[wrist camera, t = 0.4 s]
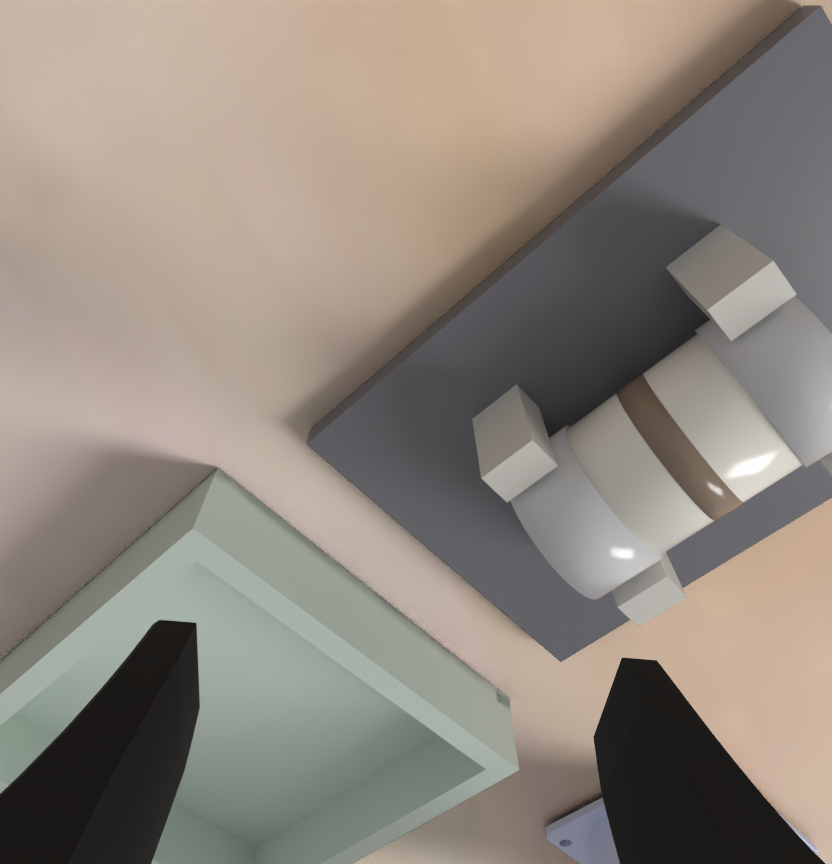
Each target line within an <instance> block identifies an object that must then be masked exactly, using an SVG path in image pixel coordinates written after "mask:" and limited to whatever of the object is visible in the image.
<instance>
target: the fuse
mask: <svg viewBox="0 0 832 864" xmlns="http://www.w3.org/2000/svg"><path fill="white" fill-rule="evenodd" d="M695 332H696V335H695V336H693V337H692V338H691V339H689V340H688V341H687V342H685V343H684V344H683V345H681V346H680V347H678V348H677V349H676V350H674V351H673V352H672V353H670V354H669V355H668V356H666V357H665V358H663V359H662V360H661V361H659V362H658V363H657V364H655V365H654V366H653V367H651V368H650V369H649V370H647V371H646V372H644V373H642V374H640V375H639V376H638V377H636V378H635V379H634V380H632V381H631V382H630V383H628V384H627V385H625V386H624V387H623V388H621V389H620V390H619V391H617V393H616V394H615V395H613V396H612V397H610V398H609V399H608V400H606V401H605V402H604V403H602V404H601V405H600V406H598V407H597V408H596V409H594V410H593V411H591V412H590V413H589V414H587V415H586V416H585V417H583V418H582V419H581V420H579V421H578V422H577V423H575V424H574V425H572V426H565V427H563V428H562V429H561V430H559V431H558V432H557V433H555V434H554V435H553V436H551V437H550V438H549V440H550V443H551V446H552V449H553V452H554V455H555V458H556V461H557V464H558V466H557V467H556V468H554V469H553V470H552V471H550V472H549V473H547V474H546V475H545V476H543V477H542V478H541V479H539V480H538V481H536V482H535V483H534V484H532V485H531V486H529V487H528V488H527V489H525V490H524V491H522V492H521V493H520V494H518V495H517V496H516V497H514V498H513V499H511V500H510V502H511V504H512V506H513V508H514V510H515V512H516V514H517V516H518V518H519V520H520V522H521V523H522V525H523V527H524V529H525V530H526V532H527V533H528V535H529V537H530V538H531V540H532V541H533V542H534V544H535V545H536V547H537V548H538V550H539V551H540V552H541V554H542V555H543V556H544V557H545V559H546V560H547V561H548V562H549V564H550V565H551V566H552V567H553V568H554V569H555V571H556V572H557V573H558V574H559V575H560V576H561V577H562V578H563V579H564V580H565V581H566V582H567V583H568V584H569V585H570V586H571V587H573V588H574V589H575V590H576V591H578V592H579V593H580V594H582V595H584V596H585V597H587V598H590V599H594V600H596V599H599V598H601V597H602V596H604V595H605V594H607V593H609V592H610V591H612V590H613V589H615V588H616V587H618V586H620V585H621V584H623V583H624V582H626V581H628V580H629V579H631V578H632V577H634V576H636V575H637V574H639V573H640V572H642V571H644V570H645V569H647V568H648V567H650V566H651V565H653V564H655V563H656V562H658V561H659V560H661V559H663V558H664V555H665V554H664V552H666V551H667V550H669V549H671V548H672V547H674V546H675V545H677V544H679V543H680V542H682V541H683V540H685V539H686V538H688V537H690V536H691V535H693V534H694V533H696V532H698V531H699V530H701V529H702V528H704V527H705V526H707V525H709V524H710V523H712V522H713V521H717V520H718V519H720V518H721V517H723V516H724V515H726V514H728V513H729V512H731V511H732V510H734V509H736V508H737V507H739V506H740V505H742V504H743V503H744V502H745V501H747V500H748V499H750V498H751V497H753V496H755V495H756V494H758V493H759V492H761V491H762V490H764V489H766V488H767V487H769V486H770V485H772V484H773V483H775V482H777V481H778V480H780V479H781V478H783V477H785V476H786V475H788V474H789V473H791V472H792V471H794V470H796V469H797V468H799V467H800V466H802V465H804V466H805V467H806V468H807V467H809V466H810V465H812V464H814V463H815V462H817V461H818V460H820V459H821V458H823V457H825V456H826V455H828V454H829V453H831V452H832V334H831V333H830V331H829V330H828V329H827V328H826V327H825V326H824V325H823V324H822V323H821V321H820V320H819V319H818V318H817V317H816V316H815V315H814V314H813V313H812V312H811V311H810V310H809V309H808V308H807V307H806V306H805V305H804V304H803V303H802V302H801V301H800V300H799V299H798V298H797V297H796V296H794V297H792V298H791V299H789V300H788V301H787V302H785V303H784V304H782V305H781V306H780V307H778V308H777V309H776V310H774V311H773V312H771V313H770V314H769V315H767V316H766V317H764V318H763V319H762V320H760V321H759V322H757V323H756V324H755V325H753V326H752V327H751V328H749V329H748V330H746V331H745V332H744V333H742V334H741V335H739V336H738V337H737V338H735V339H734V340H732V341H730V340H729V339H728V338H727V337H726V335H725V334H724V333H723V332H722V331H721V330H720V329H719V328H718V327H717V326H716V325H715V324H714V323H713V322H712V321H711V320H708V321H707V322H705V323H704V324H703V325H701V326H700V327H699V328H697V329H696V330H695Z"/></svg>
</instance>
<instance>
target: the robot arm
mask: <svg viewBox="0 0 832 864" xmlns="http://www.w3.org/2000/svg"><path fill="white" fill-rule="evenodd" d="M199 709H200V698H199V673H198V648H197V623H193V622H181V621H169V620H158V621H157V622H155V623H154V624H153V625H152V626H151V627H150V629H149V630H148V631H147V632H146V634H145V635H144V636H143V638H142V639H141V640H140V642H139V643H138V644H137V645H136V647H135V648H134V649H133V651H132V652H131V653H130V654H129V656H128V657H127V658H126V659H125V661H124V662H123V663H122V664H121V665H120V667H119V668H118V669H117V670H116V671H115V673H114V674H113V675H112V676H111V677H110V679H109V680H108V681H107V682H106V683H105V685H104V686H103V687H102V688H101V689H100V690H99V691H98V693H97V694H96V695H95V696H94V697H93V698H92V699H91V700H90V702H89V703H88V704H87V705H86V706H85V707H84V708H83V709H82V710H81V712H80V713H79V714H78V715H77V716H76V717H75V718H74V719H73V721H72V722H71V723H70V724H69V725H68V726H67V727H66V728H65V729H64V730H63V731H62V732H61V734H60V735H59V736H58V737H57V738H56V739H55V740H54V741H53V742H52V743H51V744H50V745H49V746H48V747H47V748H46V749H45V750H44V751H43V752H42V753H41V754H40V755H39V756H38V757H37V758H36V759H35V760H34V761H33V762H32V763H31V764H30V765H29V766H28V767H27V768H26V769H25V770H24V771H23V772H22V773H21V774H20V775H19V776H18V777H17V778H16V779H15V780H14V781H13V782H12V783H11V784H10V785H9V786H8V787H7V788H6V789H5V790H4V791H2V792H1V793H0V864H151V863H152V860H153V857H154V855H155V852H156V849H157V846H158V844H159V841H160V838H161V835H162V832H163V830H164V827H165V824H166V821H167V819H168V816H169V813H170V810H171V807H172V804H173V802H174V799H175V796H176V793H177V790H178V788H179V785H180V782H181V779H182V776H183V773H184V770H185V767H186V763H187V759H188V755H189V751H190V747H191V743H192V739H193V735H194V730H195V726H196V722H197V718H198V713H199ZM594 743H595V750H596V758H597V765H598V772H599V778H600V785H601V791H602V798H600V799H598V800H596V801H594V802H592V803H590V804H589V805H587V806H585V807H583V808H581V809H579V810H577V811H575V812H573V813H571V814H569V815H567V816H565V817H563V818H562V819H560V820H558V821H556V822H554V823H552V824H550V825H549V826H547V828H546V829H545V832H546V838H547V840H548V841H549V842H550V843H551V844H553V845H554V846H556V847H557V848H558V849H560V850H561V851H563V852H564V853H566V854H567V855H568V856H570V857H571V858H573V859H574V860H576V861H577V862H578V863H580V864H825V863H824V862H823V861H822V860H821V859H820V858H819V857H818V854H819V853H818V851H817V849H816V847H815V845H814V844H813V843H812V842H811V841H810V840H809V839H808V838H807V837H805V836H804V835H803V834H802V833H801V832H800V831H799V830H798V829H796V828H795V827H794V826H793V825H792V824H791V823H790V822H789V821H788V820H786V819H785V818H784V817H783V816H782V815H781V814H780V813H779V812H777V811H776V810H775V809H774V808H773V807H772V805H771V804H770V803H769V802H768V801H767V800H766V799H765V798H764V796H763V795H762V794H761V793H760V792H759V790H758V789H757V788H756V787H755V786H754V785H753V783H752V782H751V781H750V780H749V778H748V777H747V776H746V775H745V773H744V772H743V771H742V770H741V769H740V767H739V766H738V765H737V764H736V762H735V761H734V760H733V759H732V757H731V756H730V755H729V754H728V753H727V751H726V750H725V749H724V748H723V746H722V745H721V744H720V742H719V741H718V740H717V739H716V737H715V736H714V735H713V734H712V732H711V731H710V730H709V728H708V727H707V726H706V724H705V723H704V722H703V721H702V719H701V718H700V717H699V715H698V714H697V713H696V711H695V710H694V709H693V707H692V706H691V705H690V704H689V702H688V701H687V700H686V698H685V697H684V696H683V694H682V693H681V692H680V690H679V689H678V688H677V686H676V685H675V684H674V682H673V681H672V680H671V678H670V677H669V676H668V675H667V673H666V672H665V671H664V669H663V668H662V667H661V665H660V664H659V663H658V662H657V661H656V660H643V659H631V658H622V659H621V662H620V665H619V668H618V670H617V673H616V676H615V679H614V682H613V684H612V687H611V690H610V693H609V696H608V698H607V701H606V704H605V707H604V710H603V712H602V715H601V718H600V721H599V724H598V726H597V729H596V732H595V735H594Z"/></svg>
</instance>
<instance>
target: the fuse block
mask: <svg viewBox="0 0 832 864" xmlns="http://www.w3.org/2000/svg"><path fill="white" fill-rule="evenodd" d="M794 296H796V297H797V298H798V299H799V300H800V301H801V302H802V303H803V304H804V305H805V306H806V307H807V308H808V309H809V310H810V311H811V312H812V313H813V314H814V315H815V316H816V317H817V318H818V319H819V320H820V321H821V323H822V324H823V325H824V326H825V327H826V328H827V329H828V330H829V331H830V333H831V334H832V25H831V23H830V21H829V19H828V18H827V16H826V14H825V12H824V10H823V9H822V7H821V6H803V7H801V8H800V9H799V10H798V11H797V12H796V13H794V14H793V15H792V16H791V17H790V18H789V19H787V20H786V21H785V22H784V23H783V24H782V25H781V26H779V27H778V28H777V29H776V30H775V31H774V32H772V33H771V34H770V35H769V36H768V37H767V38H765V39H764V40H763V41H762V42H761V43H760V44H758V45H757V46H756V47H755V48H754V49H753V50H751V51H750V52H749V53H748V54H747V55H746V56H744V57H743V58H742V59H741V60H740V61H739V62H737V63H736V64H735V65H734V66H733V67H732V68H731V69H729V70H728V71H727V72H726V73H725V74H724V75H722V76H721V77H720V78H719V79H718V80H717V81H715V82H714V83H713V84H712V85H711V86H710V87H708V88H707V89H706V90H705V91H704V92H703V93H701V94H700V95H699V96H698V97H697V98H696V99H694V100H693V101H692V102H691V103H690V104H689V105H688V106H686V107H685V108H684V109H683V110H682V111H681V112H679V113H678V114H677V115H676V116H675V117H674V118H672V119H671V120H670V121H669V122H668V123H667V124H665V125H664V126H663V127H662V128H661V129H660V130H658V131H657V132H656V133H655V134H654V135H653V136H651V137H650V138H649V139H648V140H647V141H646V142H644V143H643V144H642V145H641V146H640V147H639V148H638V149H636V150H635V151H634V152H633V153H632V154H631V155H629V156H628V157H627V158H626V159H625V160H624V161H622V162H621V163H620V164H619V165H618V166H617V167H615V168H614V169H613V170H612V171H611V172H610V173H608V174H607V175H606V176H605V177H604V178H603V179H601V180H600V181H599V182H598V183H597V184H596V185H595V186H593V187H592V188H591V189H590V190H589V191H588V192H586V193H585V194H584V195H583V196H582V197H581V198H579V199H578V200H577V201H576V202H575V203H574V204H572V205H571V206H570V207H569V208H568V209H567V210H565V211H564V212H563V213H562V214H561V215H560V216H558V217H557V218H556V219H555V220H554V221H553V222H551V223H550V224H549V225H548V226H547V227H546V228H545V229H543V230H542V231H541V232H540V233H539V234H538V235H536V236H535V237H534V238H533V239H532V240H531V241H529V242H528V243H527V244H526V245H525V246H524V247H522V248H521V249H520V250H519V251H518V252H517V253H515V254H514V255H513V256H512V257H511V258H510V259H508V260H507V261H506V262H505V263H504V264H503V265H501V266H500V267H499V268H498V269H497V270H496V271H495V272H493V273H492V274H491V275H490V276H489V277H488V278H486V279H485V280H484V281H483V282H482V283H481V284H479V285H478V286H477V287H476V288H475V289H474V290H472V291H471V292H470V293H469V294H468V295H467V296H465V297H464V298H463V299H462V300H461V301H460V302H458V303H457V304H456V305H455V306H454V307H453V308H452V309H450V310H449V311H448V312H447V313H446V314H445V315H443V316H442V317H441V318H440V319H439V320H438V321H436V322H435V323H434V324H433V325H432V326H431V327H429V328H428V329H427V330H426V331H425V332H424V333H422V334H421V335H420V336H419V337H418V338H417V339H415V340H414V341H413V342H412V343H411V344H410V345H408V346H407V347H406V348H405V349H404V350H403V351H402V352H400V353H399V354H398V355H397V356H396V357H395V358H393V359H392V360H391V361H390V362H389V363H388V364H386V365H385V366H384V367H383V368H382V369H381V370H379V371H378V372H377V373H376V374H375V375H374V376H372V377H371V378H370V379H369V380H368V381H367V382H365V383H364V384H363V385H362V386H361V387H360V388H359V389H357V390H356V391H355V392H354V393H353V394H352V395H350V396H349V397H348V398H347V399H346V400H345V401H343V402H342V403H341V404H340V405H339V406H338V407H336V408H335V409H334V410H333V411H332V412H331V413H329V414H328V415H327V416H326V417H325V418H324V419H322V420H321V421H320V422H319V423H318V424H317V425H315V426H314V427H313V428H312V429H311V430H310V432H309V436H308V441H307V445H308V446H309V447H310V448H312V449H313V450H314V451H315V452H316V453H317V454H319V455H320V456H321V457H322V458H323V459H324V460H326V461H327V462H328V463H329V464H330V465H331V466H333V467H334V468H335V469H336V470H337V471H338V472H340V473H341V474H342V475H343V476H344V477H345V478H347V479H348V480H349V481H350V482H351V483H352V484H354V485H355V486H356V487H357V488H358V489H359V490H361V491H362V492H363V493H364V494H365V495H366V496H368V497H369V498H370V499H371V500H372V501H373V502H375V503H376V504H377V505H378V506H379V507H380V508H382V509H383V510H384V511H385V512H386V513H387V514H389V515H390V516H391V517H392V518H393V519H394V520H396V521H397V522H398V523H399V524H400V525H401V526H403V527H404V528H405V529H406V530H407V531H408V532H410V533H411V534H412V535H413V536H414V537H415V538H417V539H418V540H419V541H420V542H421V543H422V544H424V545H425V546H426V547H427V548H428V549H429V550H431V551H432V552H433V553H434V554H435V555H436V556H438V557H439V558H440V559H441V560H442V561H443V562H445V563H446V564H447V565H448V566H449V567H450V568H452V569H453V570H454V571H455V572H456V573H457V574H459V575H460V576H461V577H462V578H463V579H464V580H466V581H467V582H468V583H469V584H470V585H472V586H473V587H474V588H475V589H476V590H477V591H479V592H480V593H481V594H482V595H483V596H484V597H486V598H487V599H488V600H489V601H490V602H491V603H493V604H494V605H495V606H496V607H497V608H498V609H500V610H501V611H502V612H503V613H504V614H505V615H507V616H508V617H509V618H510V619H511V620H512V621H514V622H515V623H516V624H517V625H518V626H519V627H521V628H522V629H523V630H524V631H525V632H526V633H528V634H529V635H530V636H531V637H532V638H533V639H535V640H536V641H537V642H538V643H539V644H540V645H542V646H543V647H544V648H545V649H546V650H547V651H549V652H550V653H551V654H552V655H553V656H554V657H556V658H557V659H558V660H559V661H560V662H561V661H563V660H565V659H566V658H568V657H570V656H571V655H573V654H575V653H576V652H578V651H580V650H581V649H583V648H585V647H586V646H588V645H589V644H591V643H593V642H594V641H596V640H598V639H599V638H601V637H603V636H604V635H606V634H608V633H609V632H611V631H613V630H614V629H616V628H617V627H619V626H621V625H622V624H624V623H626V622H627V621H629V620H631V621H632V622H633V623H635V624H636V625H637V626H638V627H639V626H640V625H642V624H644V623H645V622H647V621H649V620H650V619H652V618H653V617H655V616H657V615H658V614H660V613H662V612H663V611H665V610H667V609H668V608H670V607H672V606H673V605H675V604H677V603H678V602H680V601H682V600H683V599H685V598H687V596H686V594H685V592H684V590H683V587H685V586H687V585H688V584H690V583H692V582H693V581H695V580H697V579H698V578H700V577H701V576H703V575H705V574H706V573H708V572H710V571H711V570H713V569H715V568H716V567H718V566H720V565H721V564H723V563H725V562H726V561H728V560H729V559H731V558H733V557H734V556H736V555H738V554H739V553H741V552H743V551H744V550H746V549H748V548H749V547H751V546H753V545H754V544H756V543H757V542H759V541H761V540H762V539H764V538H766V537H767V536H769V535H771V534H772V533H774V532H776V531H777V530H779V529H781V528H782V527H784V526H785V525H787V524H789V523H790V522H792V521H794V520H795V519H797V518H799V517H800V516H802V515H804V514H805V513H807V512H809V511H810V510H812V509H813V508H815V507H817V506H818V505H820V504H822V503H823V502H825V501H827V500H828V499H830V498H832V452H831V453H829V454H828V455H826V456H825V457H823V458H821V459H820V460H818V461H817V462H815V463H814V464H812V465H810V466H809V467H807V468H806V467H805V466H804V465H802V466H800V467H799V468H797V469H796V470H794V471H792V472H791V473H789V474H788V475H786V476H785V477H783V478H781V479H780V480H778V481H777V482H775V483H773V484H772V485H770V486H769V487H767V488H766V489H764V490H762V491H761V492H759V493H758V494H756V495H755V496H753V497H751V498H750V499H748V500H747V501H745V502H744V503H743V504H742V505H740V506H739V507H737V508H736V509H734V510H732V511H731V512H729V513H728V514H726V515H724V516H723V517H721V518H720V519H718V520H717V521H713V522H712V523H710V524H709V525H707V526H705V527H704V528H702V529H701V530H699V531H698V532H696V533H694V534H693V535H691V536H690V537H688V538H686V539H685V540H683V541H682V542H680V543H679V544H677V545H675V546H674V547H672V548H671V549H669V550H667V551H666V552H664V554H665V555H664V558H663V559H661V560H659V561H658V562H656V563H655V564H653V565H651V566H650V567H648V568H647V569H645V570H644V571H642V572H640V573H639V574H637V575H636V576H634V577H632V578H631V579H629V580H628V581H626V582H624V583H623V584H621V585H620V586H618V587H616V588H615V589H613V590H612V591H610V592H609V593H607V594H605V595H604V596H602V597H601V598H599V599H596V600H594V599H590V598H587V597H585V596H584V595H582V594H580V593H579V592H578V591H576V590H575V589H574V588H573V587H571V586H570V585H569V584H568V583H567V582H566V581H565V580H564V579H563V578H562V577H561V576H560V575H559V574H558V573H557V572H556V571H555V569H554V568H553V567H552V566H551V565H550V564H549V562H548V561H547V560H546V559H545V557H544V556H543V555H542V554H541V552H540V551H539V550H538V548H537V547H536V545H535V544H534V542H533V541H532V540H531V538H530V537H529V535H528V533H527V532H526V530H525V529H524V527H523V525H522V523H521V522H520V520H519V518H518V516H517V514H516V512H515V510H514V508H513V506H512V504H511V502H510V500H511V499H513V498H514V497H516V496H517V495H518V494H520V493H521V492H522V491H524V490H525V489H527V488H528V487H529V486H531V485H532V484H534V483H535V482H536V481H538V480H539V479H541V478H542V477H543V476H545V475H546V474H547V473H549V472H550V471H552V470H553V469H554V468H556V467H557V466H558V464H557V461H556V458H555V455H554V452H553V449H552V446H551V443H550V440H549V438H550V437H551V436H553V435H554V434H555V433H557V432H558V431H559V430H561V429H562V428H563V427H565V426H572V425H574V424H575V423H577V422H578V421H579V420H581V419H582V418H583V417H585V416H586V415H587V414H589V413H590V412H591V411H593V410H594V409H596V408H597V407H598V406H600V405H601V404H602V403H604V402H605V401H606V400H608V399H609V398H610V397H612V396H613V395H615V394H616V393H617V391H619V390H620V389H621V388H623V387H624V386H625V385H627V384H628V383H630V382H631V381H632V380H634V379H635V378H636V377H638V376H639V375H640V374H642V373H644V372H646V371H647V370H649V369H650V368H651V367H653V366H654V365H655V364H657V363H658V362H659V361H661V360H662V359H663V358H665V357H666V356H668V355H669V354H670V353H672V352H673V351H674V350H676V349H677V348H678V347H680V346H681V345H683V344H684V343H685V342H687V341H688V340H689V339H691V338H692V337H693V336H695V335H696V332H695V330H696V329H697V328H699V327H700V326H701V325H703V324H704V323H705V322H707V321H708V320H711V321H712V322H713V323H714V324H715V325H716V326H717V327H718V328H719V329H720V330H721V331H722V332H723V333H724V334H725V335H726V337H727V338H728V339H729V340H730V341H732V340H734V339H735V338H737V337H738V336H739V335H741V334H742V333H744V332H745V331H746V330H748V329H749V328H751V327H752V326H753V325H755V324H756V323H757V322H759V321H760V320H762V319H763V318H764V317H766V316H767V315H769V314H770V313H771V312H773V311H774V310H776V309H777V308H778V307H780V306H781V305H782V304H784V303H785V302H787V301H788V300H789V299H791V298H792V297H794Z"/></svg>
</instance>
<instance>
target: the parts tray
mask: <svg viewBox="0 0 832 864" xmlns="http://www.w3.org/2000/svg"><path fill="white" fill-rule="evenodd" d="M158 620H169V621H181V622H193V623H197V648H198V673H199V698H200V709H199V713H198V718H197V722H196V726H195V730H194V735H193V739H192V743H191V747H190V751H189V755H188V759H187V763H186V767H185V770H184V773H183V776H182V779H181V782H180V785H179V788H178V790H177V793H176V796H175V799H174V802H173V804H172V807H171V810H170V813H169V816H168V819H167V821H166V824H165V827H164V830H163V832H162V835H161V838H160V841H159V844H158V846H157V849H156V852H155V855H154V857H153V860H152V863H151V864H352V863H354V862H356V861H358V860H360V859H361V858H363V857H365V856H367V855H368V854H370V853H372V852H374V851H376V850H377V849H379V848H381V847H383V846H385V845H386V844H388V843H390V842H392V841H394V840H395V839H397V838H399V837H401V836H402V835H404V834H406V833H408V832H410V831H411V830H413V829H415V828H417V827H419V826H420V825H422V824H424V823H426V822H428V821H429V820H431V819H433V818H435V817H436V816H438V815H440V814H442V813H444V812H445V811H447V810H449V809H451V808H453V807H454V806H456V805H458V804H460V803H462V802H463V801H465V800H467V799H469V798H470V797H472V796H474V795H476V794H478V793H479V792H481V791H483V790H485V789H487V788H488V787H490V786H492V785H494V784H496V783H497V782H499V781H501V780H503V779H504V778H506V777H508V776H510V775H512V774H513V773H515V772H517V771H519V765H518V758H517V751H516V744H515V737H514V730H513V723H512V716H511V709H510V702H509V698H508V697H507V696H505V695H504V694H503V693H502V692H500V691H499V690H498V689H497V688H495V687H494V686H493V685H491V684H490V683H489V682H488V681H486V680H485V679H484V678H483V677H481V676H480V675H479V674H478V673H476V672H475V671H474V670H473V669H471V668H470V667H469V666H467V665H466V664H465V663H464V662H462V661H461V660H460V659H459V658H457V657H456V656H455V655H454V654H452V653H451V652H450V651H449V650H447V649H446V648H445V647H444V646H442V645H441V644H440V643H438V642H437V641H436V640H435V639H433V638H432V637H431V636H430V635H428V634H427V633H426V632H425V631H423V630H422V629H421V628H420V627H418V626H417V625H416V624H414V623H413V622H412V621H411V620H409V619H408V618H407V617H406V616H404V615H403V614H402V613H401V612H399V611H398V610H397V609H396V608H394V607H393V606H392V605H391V604H389V603H388V602H387V601H385V600H384V599H383V598H382V597H380V596H379V595H378V594H377V593H375V592H374V591H373V590H372V589H370V588H369V587H368V586H367V585H365V584H364V583H363V582H361V581H360V580H359V579H358V578H356V577H355V576H354V575H353V574H351V573H350V572H349V571H348V570H346V569H345V568H344V567H343V566H341V565H340V564H339V563H338V562H336V561H335V560H334V559H332V558H331V557H330V556H329V555H327V554H326V553H325V552H324V551H322V550H321V549H320V548H319V547H317V546H316V545H315V544H314V543H312V542H311V541H310V540H308V539H307V538H306V537H305V536H303V535H302V534H301V533H300V532H298V531H297V530H296V529H295V528H293V527H292V526H291V525H290V524H288V523H287V522H286V521H285V520H283V519H282V518H281V517H279V516H278V515H277V514H276V513H274V512H273V511H272V510H271V509H269V508H268V507H267V506H266V505H264V504H263V503H262V502H261V501H259V500H258V499H257V498H255V497H254V496H253V495H252V494H250V493H249V492H248V491H247V490H245V489H244V488H243V487H242V486H240V485H239V484H238V483H237V482H235V481H234V480H233V479H232V478H230V477H229V476H228V475H226V474H225V473H224V472H223V471H221V470H220V469H219V468H217V469H216V470H215V471H214V472H213V473H212V474H210V475H209V476H208V477H207V478H206V479H205V480H204V481H203V482H201V483H200V484H199V485H198V486H197V487H196V488H195V489H194V490H192V491H191V492H190V493H189V494H188V495H187V496H186V497H185V498H183V499H182V500H181V501H180V502H179V503H178V504H177V505H176V506H174V507H173V508H172V509H171V510H170V511H169V512H168V513H167V514H165V515H164V516H163V517H162V518H161V519H160V520H159V521H158V522H156V523H155V524H154V525H153V526H152V527H151V528H150V529H149V530H147V531H146V532H145V533H144V534H143V535H142V536H141V537H140V538H138V539H137V540H136V541H135V542H134V543H133V544H132V545H131V546H129V547H128V548H127V549H126V550H125V551H124V552H123V553H122V554H120V555H119V556H118V557H117V558H116V559H115V560H114V561H113V562H111V563H110V564H109V565H108V566H107V567H106V568H105V569H104V570H102V571H101V572H100V573H99V574H98V575H97V576H96V577H95V578H93V579H92V580H91V581H90V582H89V583H88V584H87V585H86V586H84V587H83V588H82V589H81V590H80V591H79V592H78V593H77V594H75V595H74V596H73V597H72V598H71V599H70V600H69V601H68V602H66V603H65V604H64V605H63V606H62V607H61V608H60V609H59V610H57V611H56V612H55V613H54V614H53V615H52V616H51V617H50V618H48V619H47V620H46V621H45V622H44V623H43V624H42V625H41V626H39V627H38V628H37V629H36V630H35V631H34V632H33V633H32V634H30V635H29V636H28V637H27V638H26V639H25V640H24V641H23V642H21V643H20V644H19V645H18V646H17V647H16V648H15V649H14V650H13V651H11V652H10V653H9V654H8V655H7V656H6V657H5V658H4V659H2V660H1V661H0V793H1V792H2V791H4V790H5V789H6V788H7V787H8V786H9V785H10V784H11V783H12V782H13V781H14V780H15V779H16V778H17V777H18V776H19V775H20V774H21V773H22V772H23V771H24V770H25V769H26V768H27V767H28V766H29V765H30V764H31V763H32V762H33V761H34V760H35V759H36V758H37V757H38V756H39V755H40V754H41V753H42V752H43V751H44V750H45V749H46V748H47V747H48V746H49V745H50V744H51V743H52V742H53V741H54V740H55V739H56V738H57V737H58V736H59V735H60V734H61V732H62V731H63V730H64V729H65V728H66V727H67V726H68V725H69V724H70V723H71V722H72V721H73V719H74V718H75V717H76V716H77V715H78V714H79V713H80V712H81V710H82V709H83V708H84V707H85V706H86V705H87V704H88V703H89V702H90V700H91V699H92V698H93V697H94V696H95V695H96V694H97V693H98V691H99V690H100V689H101V688H102V687H103V686H104V685H105V683H106V682H107V681H108V680H109V679H110V677H111V676H112V675H113V674H114V673H115V671H116V670H117V669H118V668H119V667H120V665H121V664H122V663H123V662H124V661H125V659H126V658H127V657H128V656H129V654H130V653H131V652H132V651H133V649H134V648H135V647H136V645H137V644H138V643H139V642H140V640H141V639H142V638H143V636H144V635H145V634H146V632H147V631H148V630H149V629H150V627H151V626H152V625H153V624H154V623H155V622H157V621H158Z"/></svg>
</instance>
